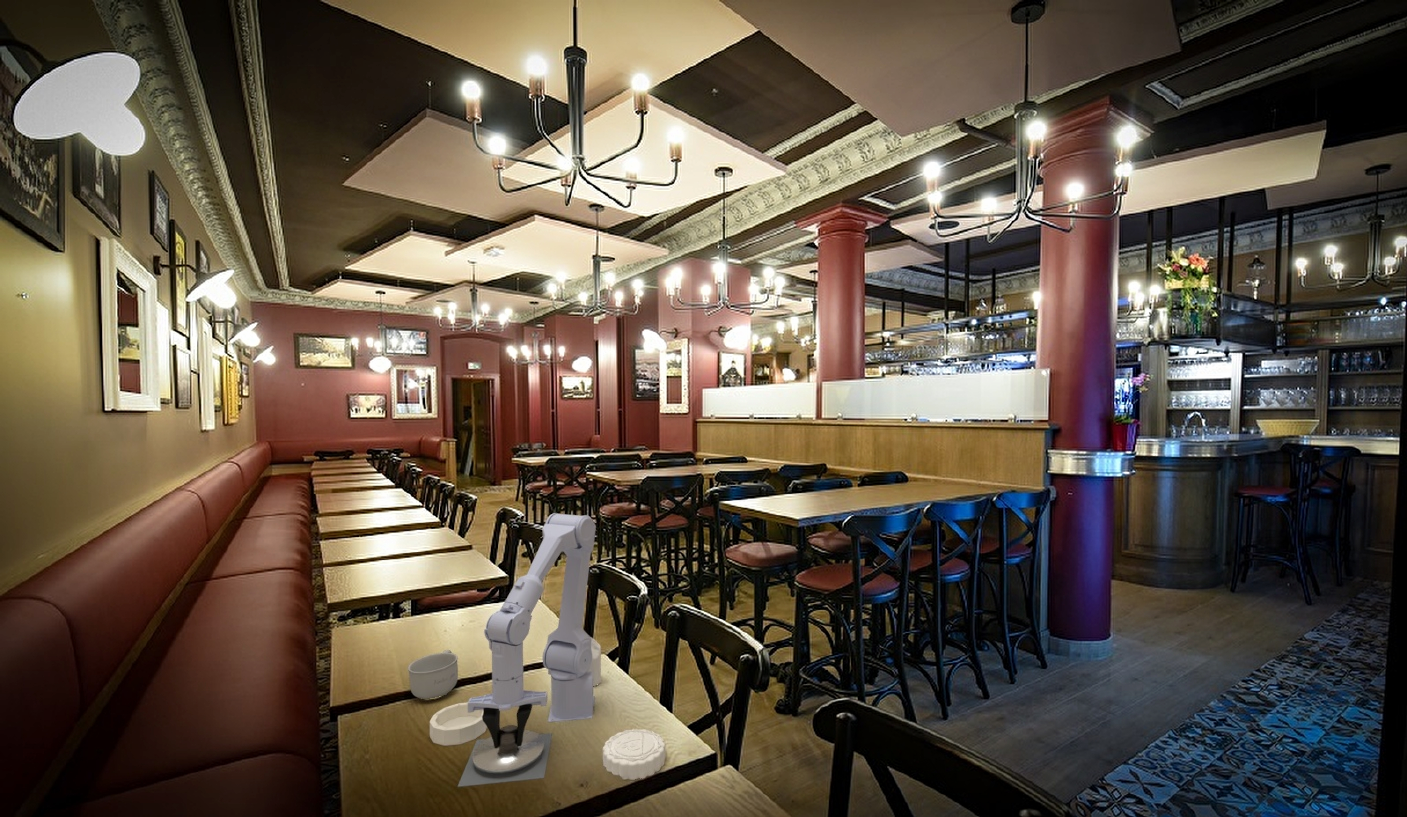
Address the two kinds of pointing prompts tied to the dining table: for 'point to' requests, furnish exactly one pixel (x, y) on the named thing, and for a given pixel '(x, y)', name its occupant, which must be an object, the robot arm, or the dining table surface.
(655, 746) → the mooncake
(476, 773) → the slate mat
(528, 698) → the robot arm
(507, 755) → the steel lid
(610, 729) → the dining table surface
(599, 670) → the roll
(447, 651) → the teacup
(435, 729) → the cream dish
